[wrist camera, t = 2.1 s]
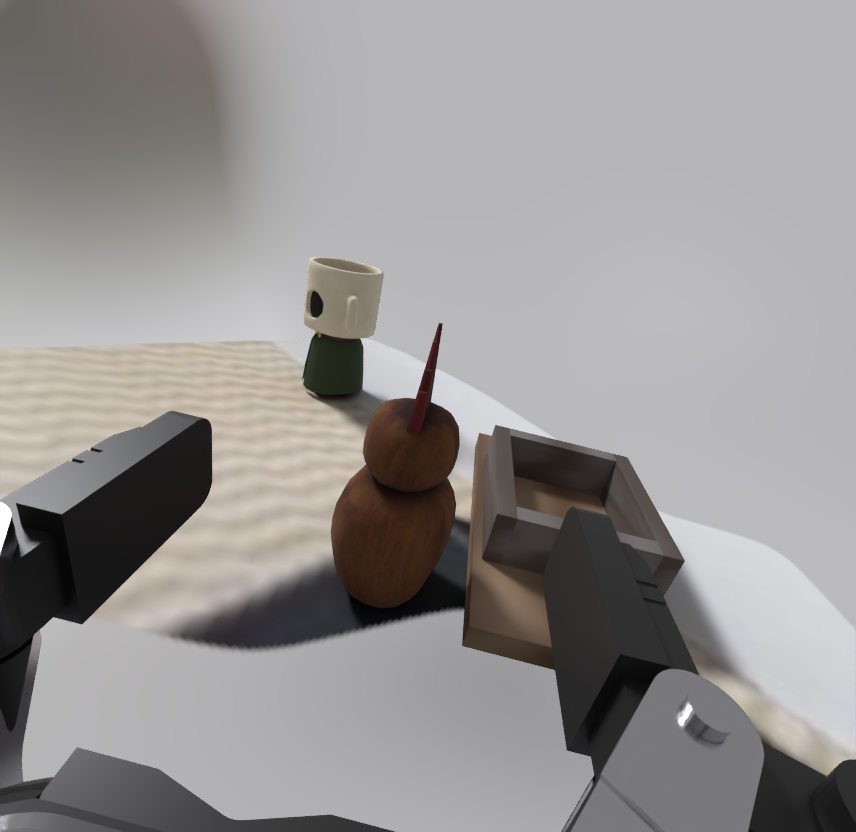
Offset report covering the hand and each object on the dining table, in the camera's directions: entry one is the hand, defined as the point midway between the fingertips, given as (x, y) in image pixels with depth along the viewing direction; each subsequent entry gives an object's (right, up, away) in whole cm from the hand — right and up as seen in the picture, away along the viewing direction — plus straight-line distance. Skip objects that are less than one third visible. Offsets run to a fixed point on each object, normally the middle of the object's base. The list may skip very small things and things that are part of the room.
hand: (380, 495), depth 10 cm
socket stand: (+10, -7, +23) cm, 26 cm away
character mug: (-9, +4, +38) cm, 40 cm away
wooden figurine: (-2, -8, +16) cm, 18 cm away
